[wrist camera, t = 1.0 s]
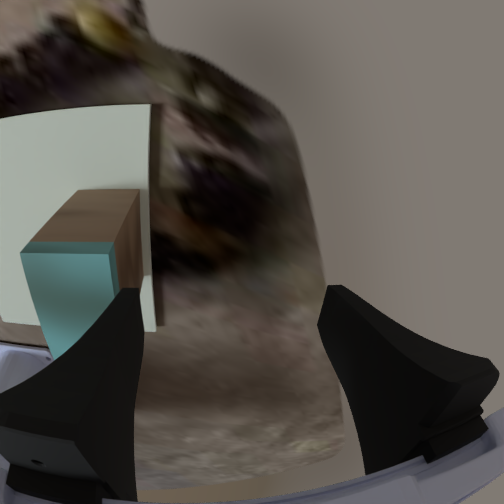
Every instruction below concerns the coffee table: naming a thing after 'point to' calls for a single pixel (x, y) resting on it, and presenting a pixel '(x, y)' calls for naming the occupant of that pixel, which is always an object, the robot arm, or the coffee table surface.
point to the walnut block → (83, 262)
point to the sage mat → (67, 184)
